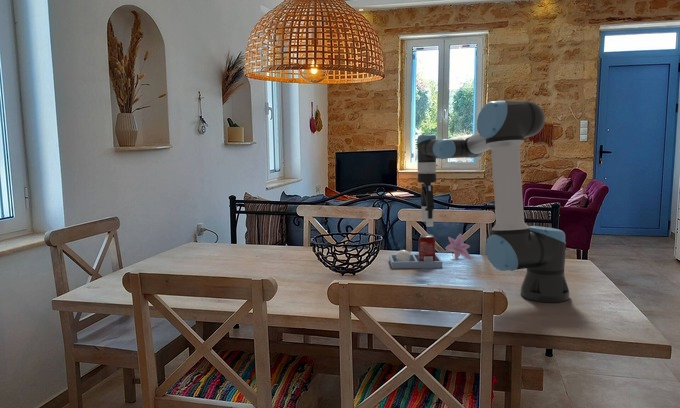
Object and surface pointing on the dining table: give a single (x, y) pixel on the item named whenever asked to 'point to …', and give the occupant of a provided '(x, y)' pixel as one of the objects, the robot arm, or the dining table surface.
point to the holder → (415, 262)
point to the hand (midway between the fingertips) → (427, 224)
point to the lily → (458, 247)
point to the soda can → (426, 247)
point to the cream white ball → (403, 256)
